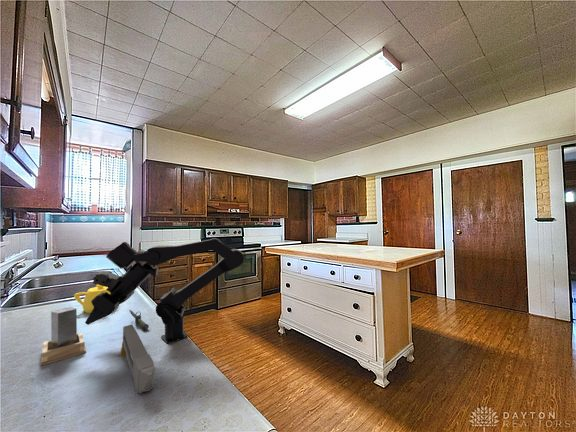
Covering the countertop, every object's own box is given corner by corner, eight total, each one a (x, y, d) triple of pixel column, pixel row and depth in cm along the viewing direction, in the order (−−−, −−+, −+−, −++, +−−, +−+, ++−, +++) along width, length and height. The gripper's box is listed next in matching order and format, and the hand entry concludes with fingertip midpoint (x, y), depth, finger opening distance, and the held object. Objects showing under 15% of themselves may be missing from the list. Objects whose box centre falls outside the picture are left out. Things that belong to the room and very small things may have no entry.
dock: (85, 352, 75) (85, 341, 75) (40, 365, 69) (40, 354, 69) (83, 341, 82) (83, 332, 82) (41, 352, 76) (41, 342, 76)
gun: (136, 429, 57) (142, 378, 53) (116, 351, 74) (119, 308, 70) (151, 421, 60) (158, 371, 56) (128, 347, 76) (132, 305, 73)
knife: (126, 315, 101) (126, 303, 101) (131, 314, 103) (132, 302, 102) (143, 335, 89) (143, 321, 88) (149, 332, 90) (150, 319, 90)
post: (76, 348, 76) (76, 308, 77) (58, 355, 72) (57, 313, 73) (69, 345, 78) (69, 306, 79) (51, 352, 75) (51, 311, 75)
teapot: (73, 307, 117) (72, 284, 117) (113, 299, 127) (113, 278, 127) (75, 321, 100) (75, 293, 100) (121, 310, 111) (121, 286, 111)
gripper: (122, 257, 88) (86, 293, 85) (99, 267, 70) (51, 312, 67) (148, 278, 90) (114, 313, 87) (131, 292, 72) (87, 337, 69)
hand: (93, 317), depth 78 cm, fingers open, 9 cm apart
